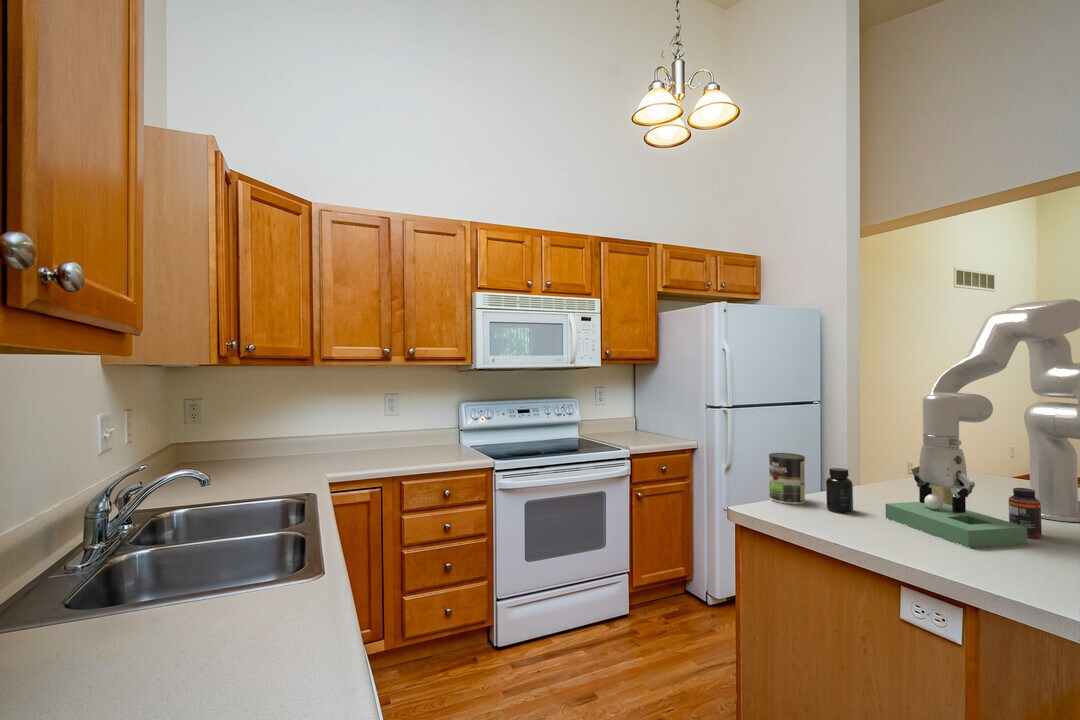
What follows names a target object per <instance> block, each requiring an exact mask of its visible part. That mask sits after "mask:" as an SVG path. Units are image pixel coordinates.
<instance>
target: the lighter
mask: <svg viewBox="0 0 1080 720" xmlns="http://www.w3.org/2000/svg"><path fill="white" fill-rule="evenodd" d="M929 487H930V488H931V489H932V494H935V495H938V496H939V497H941V499H942V500H943V503H945V504H949V505H952V497H954V494H953V493H952V491H951V490H950V488H946V487H942V486H938V485H934V484H931V485H930V486H929Z"/></svg>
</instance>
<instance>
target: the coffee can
mask: <svg viewBox="0 0 1080 720" xmlns="http://www.w3.org/2000/svg"><path fill="white" fill-rule="evenodd" d="M768 458H769V465H768V466H769V467H768V469H769V498H768V499H769V500H770V501H772V502H775V503H778V504H783V505H784V504H785V505H802V504H805V502H806V497H805V496H806V495H805V493H806V492H805V491H806V489H805V483H806V481H805V477H806V476H805V473H806V472H805V468H806V466H805V463H806V462H805V461H806V460H805V459H806V456H804V455H802V454H798V453H790V452H774V453H773V452H771V453H769V454H768Z"/></svg>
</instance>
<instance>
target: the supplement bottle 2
mask: <svg viewBox="0 0 1080 720" xmlns="http://www.w3.org/2000/svg"><path fill="white" fill-rule="evenodd" d="M1012 489H1013V490H1012V491H1013V492H1012V493H1013V495H1011V496H1009V498H1008V522H1011V523H1015V524H1018V525H1022V526H1025V527H1027V539H1028V538H1031V539H1034V538H1035V539H1037V538H1040V537H1042V534H1043V533H1042V518H1041V503H1040V501H1039V500H1038V499H1036V498H1035V491H1034V490H1032V489H1030V488H1028V487H1027V488H1026V487H1025V488H1024V487H1014V488H1012Z"/></svg>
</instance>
